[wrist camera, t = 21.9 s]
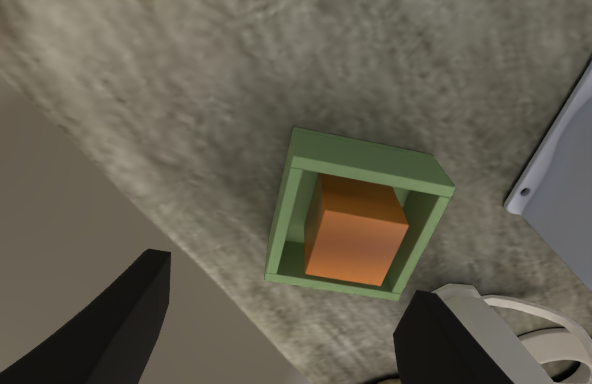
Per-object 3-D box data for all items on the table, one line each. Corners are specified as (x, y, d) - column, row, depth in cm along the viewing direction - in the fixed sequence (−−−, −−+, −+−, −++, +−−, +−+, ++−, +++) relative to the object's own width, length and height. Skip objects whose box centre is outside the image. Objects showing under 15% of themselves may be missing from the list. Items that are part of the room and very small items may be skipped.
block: (367, 237, 22) (380, 286, 19) (303, 226, 22) (304, 274, 18) (390, 181, 20) (409, 225, 17) (320, 167, 20) (324, 209, 16)
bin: (385, 259, 24) (398, 301, 21) (268, 239, 23) (263, 280, 20) (432, 154, 20) (457, 187, 17) (293, 126, 19) (292, 155, 16)
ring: (598, 315, 26) (617, 336, 25) (594, 379, 30) (610, 400, 29) (478, 342, 28) (489, 364, 26) (490, 400, 32) (500, 421, 31)
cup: (395, 279, 25) (433, 400, 18) (552, 249, 23) (661, 368, 16) (406, 343, 28) (442, 465, 21) (543, 320, 27) (629, 443, 20)
